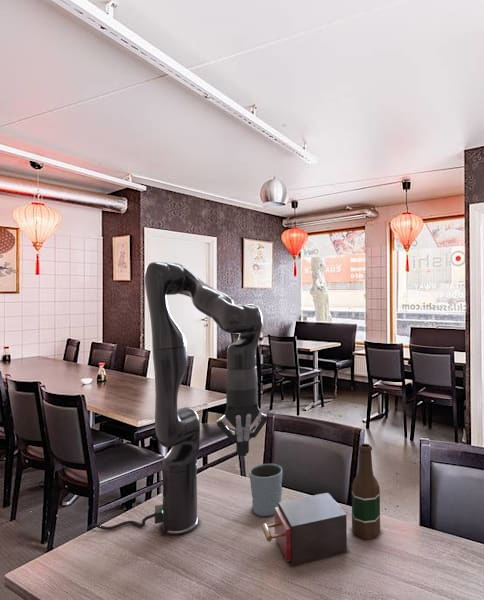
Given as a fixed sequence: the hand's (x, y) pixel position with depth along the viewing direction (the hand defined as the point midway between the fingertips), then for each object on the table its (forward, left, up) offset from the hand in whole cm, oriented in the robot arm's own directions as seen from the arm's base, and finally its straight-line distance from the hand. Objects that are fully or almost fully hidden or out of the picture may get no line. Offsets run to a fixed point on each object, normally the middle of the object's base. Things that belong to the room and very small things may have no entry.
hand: (242, 455), depth 102 cm
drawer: (+14, 0, -26) cm, 29 cm away
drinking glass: (+11, +22, -27) cm, 36 cm away
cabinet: (+18, 0, -26) cm, 32 cm away
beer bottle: (+34, 0, -27) cm, 43 cm away
